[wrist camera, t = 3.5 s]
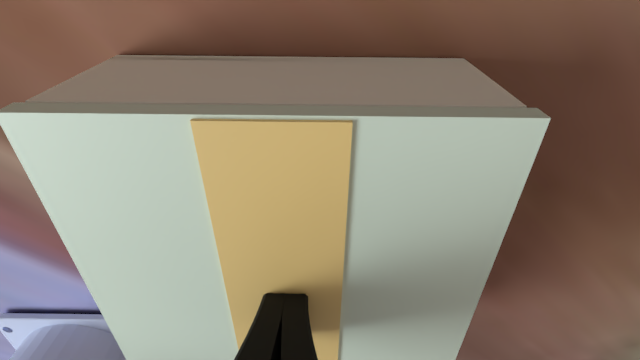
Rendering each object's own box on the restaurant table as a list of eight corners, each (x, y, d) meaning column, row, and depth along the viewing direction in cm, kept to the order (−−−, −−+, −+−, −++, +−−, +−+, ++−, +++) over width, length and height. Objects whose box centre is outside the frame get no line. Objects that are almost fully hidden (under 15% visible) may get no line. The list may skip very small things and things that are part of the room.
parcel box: (411, 291, 19) (433, 377, 15) (186, 289, 19) (152, 374, 15) (463, 58, 12) (526, 106, 8) (117, 55, 12) (24, 100, 8)
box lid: (437, 380, 15) (442, 398, 15) (149, 377, 15) (142, 394, 15) (537, 108, 8) (553, 120, 8) (13, 102, 8) (-10, 114, 8)
